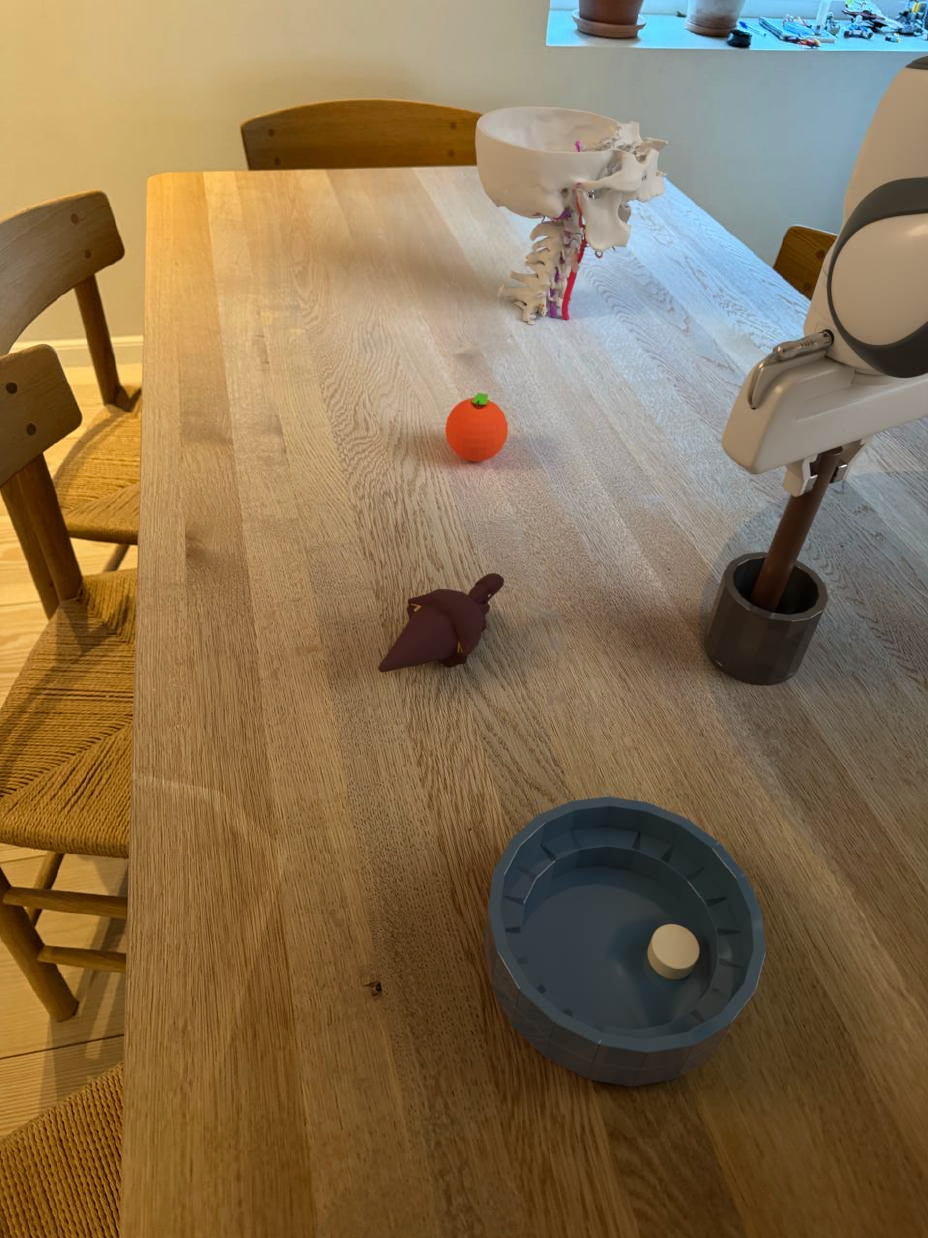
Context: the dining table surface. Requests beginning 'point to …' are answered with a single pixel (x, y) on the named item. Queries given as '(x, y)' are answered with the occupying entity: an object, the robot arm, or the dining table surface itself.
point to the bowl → (620, 939)
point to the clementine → (476, 428)
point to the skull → (564, 189)
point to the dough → (673, 951)
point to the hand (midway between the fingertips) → (813, 484)
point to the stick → (792, 534)
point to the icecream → (443, 626)
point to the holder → (763, 623)
